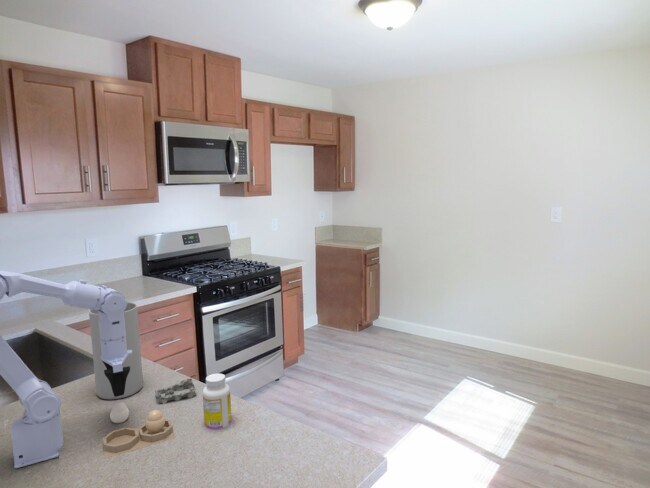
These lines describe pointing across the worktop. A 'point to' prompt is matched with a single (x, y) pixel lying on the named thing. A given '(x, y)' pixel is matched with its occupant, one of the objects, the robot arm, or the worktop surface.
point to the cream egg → (119, 412)
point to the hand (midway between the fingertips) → (117, 389)
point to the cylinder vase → (134, 360)
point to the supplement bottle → (216, 402)
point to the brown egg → (155, 422)
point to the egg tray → (134, 439)
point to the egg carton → (179, 387)
